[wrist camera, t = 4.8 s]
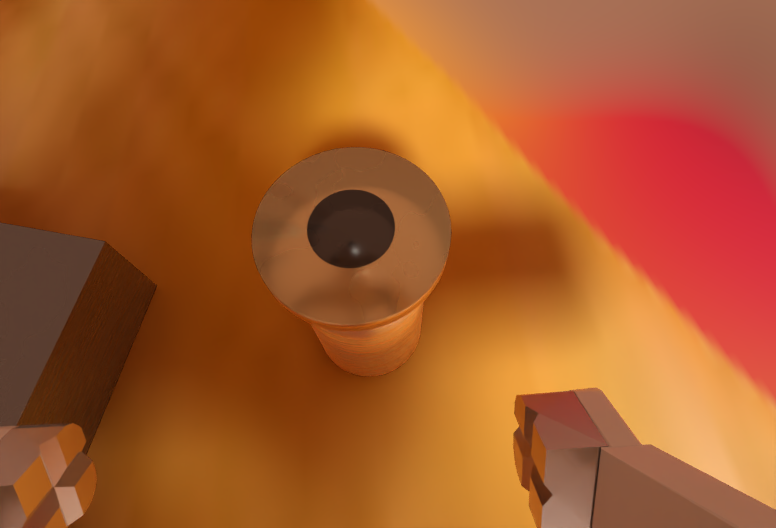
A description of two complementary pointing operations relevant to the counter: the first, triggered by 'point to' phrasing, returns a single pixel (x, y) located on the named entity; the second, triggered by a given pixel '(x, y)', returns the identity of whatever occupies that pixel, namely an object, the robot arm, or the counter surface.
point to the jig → (64, 326)
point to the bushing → (354, 252)
